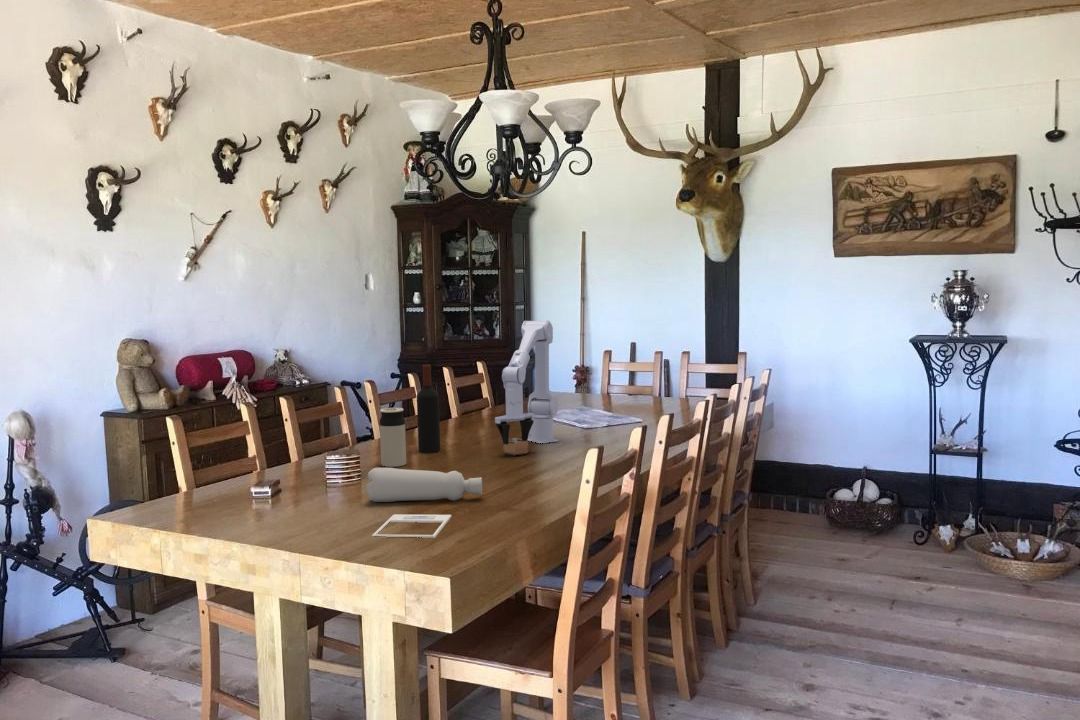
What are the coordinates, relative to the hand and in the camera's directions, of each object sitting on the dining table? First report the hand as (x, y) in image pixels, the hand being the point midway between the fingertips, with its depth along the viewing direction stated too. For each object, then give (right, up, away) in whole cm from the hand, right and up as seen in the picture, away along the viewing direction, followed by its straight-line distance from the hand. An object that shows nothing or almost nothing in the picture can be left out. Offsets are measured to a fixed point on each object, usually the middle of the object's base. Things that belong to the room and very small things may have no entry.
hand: (515, 442), depth 293 cm
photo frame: (-22, -13, -85) cm, 89 cm away
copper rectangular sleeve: (0, -3, 0) cm, 3 cm away
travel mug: (-39, -6, -13) cm, 41 cm away
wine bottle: (-30, -4, +10) cm, 32 cm away
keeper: (0, -4, 0) cm, 4 cm away
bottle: (-22, -10, -60) cm, 65 cm away
